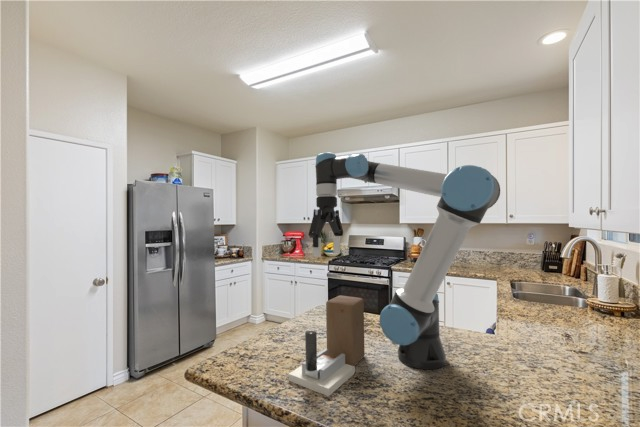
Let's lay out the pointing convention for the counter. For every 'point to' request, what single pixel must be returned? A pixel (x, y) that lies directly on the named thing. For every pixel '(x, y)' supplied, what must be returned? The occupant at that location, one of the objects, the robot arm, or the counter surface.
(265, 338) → the counter surface
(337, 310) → the wooden block
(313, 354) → the ram handle
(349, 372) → the base
